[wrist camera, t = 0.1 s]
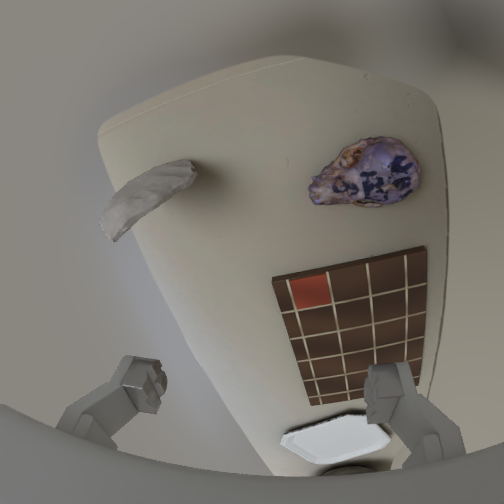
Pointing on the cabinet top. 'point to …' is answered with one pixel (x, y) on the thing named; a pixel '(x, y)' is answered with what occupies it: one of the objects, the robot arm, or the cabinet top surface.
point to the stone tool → (144, 196)
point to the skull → (368, 174)
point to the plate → (336, 439)
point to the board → (354, 320)
